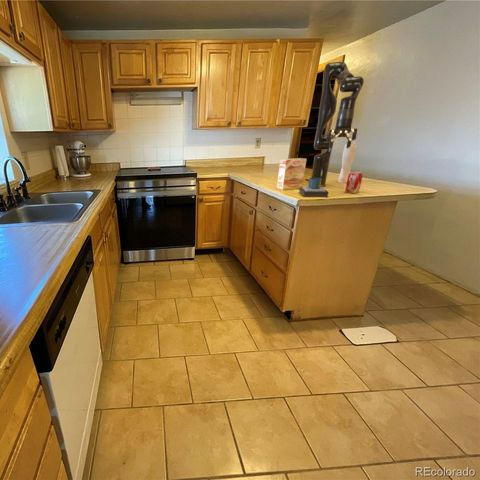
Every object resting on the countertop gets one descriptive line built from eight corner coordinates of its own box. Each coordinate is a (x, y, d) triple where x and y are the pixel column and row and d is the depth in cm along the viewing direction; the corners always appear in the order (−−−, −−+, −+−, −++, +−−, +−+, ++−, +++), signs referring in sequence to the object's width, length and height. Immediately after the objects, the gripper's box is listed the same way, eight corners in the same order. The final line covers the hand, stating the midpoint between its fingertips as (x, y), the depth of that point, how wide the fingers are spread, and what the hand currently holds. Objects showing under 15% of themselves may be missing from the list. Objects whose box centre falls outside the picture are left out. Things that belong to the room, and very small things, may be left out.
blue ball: (306, 187, 162) (308, 177, 160) (318, 187, 161) (320, 177, 159) (309, 189, 157) (310, 179, 155) (321, 189, 155) (322, 178, 153)
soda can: (360, 193, 157) (365, 172, 153) (347, 193, 159) (352, 173, 154) (355, 191, 164) (359, 171, 159) (342, 191, 165) (346, 171, 161)
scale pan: (302, 189, 165) (302, 186, 165) (320, 189, 163) (320, 186, 162) (305, 192, 156) (306, 189, 156) (325, 192, 154) (325, 189, 153)
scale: (298, 192, 168) (299, 187, 167) (321, 192, 165) (322, 187, 164) (303, 196, 156) (304, 191, 155) (328, 197, 152) (329, 192, 151)
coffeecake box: (282, 190, 176) (286, 159, 169) (276, 188, 183) (279, 159, 176) (302, 188, 179) (307, 158, 172) (295, 186, 185) (299, 157, 178)
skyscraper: (346, 183, 188) (354, 141, 178) (334, 182, 194) (342, 141, 184) (351, 182, 192) (360, 141, 182) (340, 181, 198) (348, 141, 188)
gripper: (357, 117, 150) (350, 147, 156) (328, 119, 154) (323, 148, 160) (362, 116, 144) (355, 148, 150) (332, 118, 148) (327, 149, 154)
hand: (339, 148), depth 155 cm, fingers open, 8 cm apart
